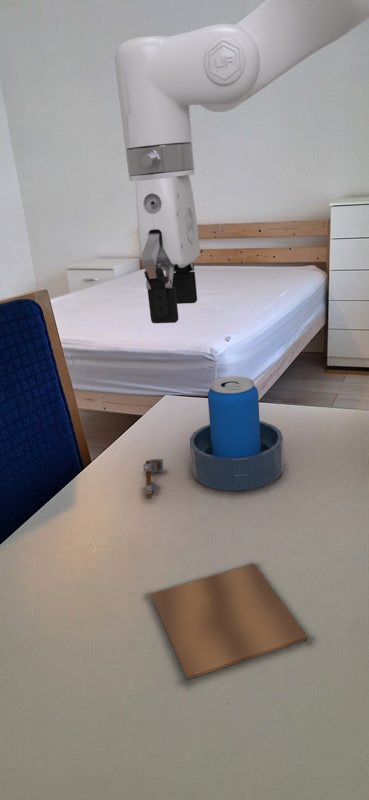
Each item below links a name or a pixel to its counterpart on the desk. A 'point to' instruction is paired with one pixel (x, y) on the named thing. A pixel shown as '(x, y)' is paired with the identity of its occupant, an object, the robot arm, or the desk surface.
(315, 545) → the desk surface
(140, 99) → the robot arm
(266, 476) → the bowl
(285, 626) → the coaster
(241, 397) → the beverage can
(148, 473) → the wooden post with brackets
